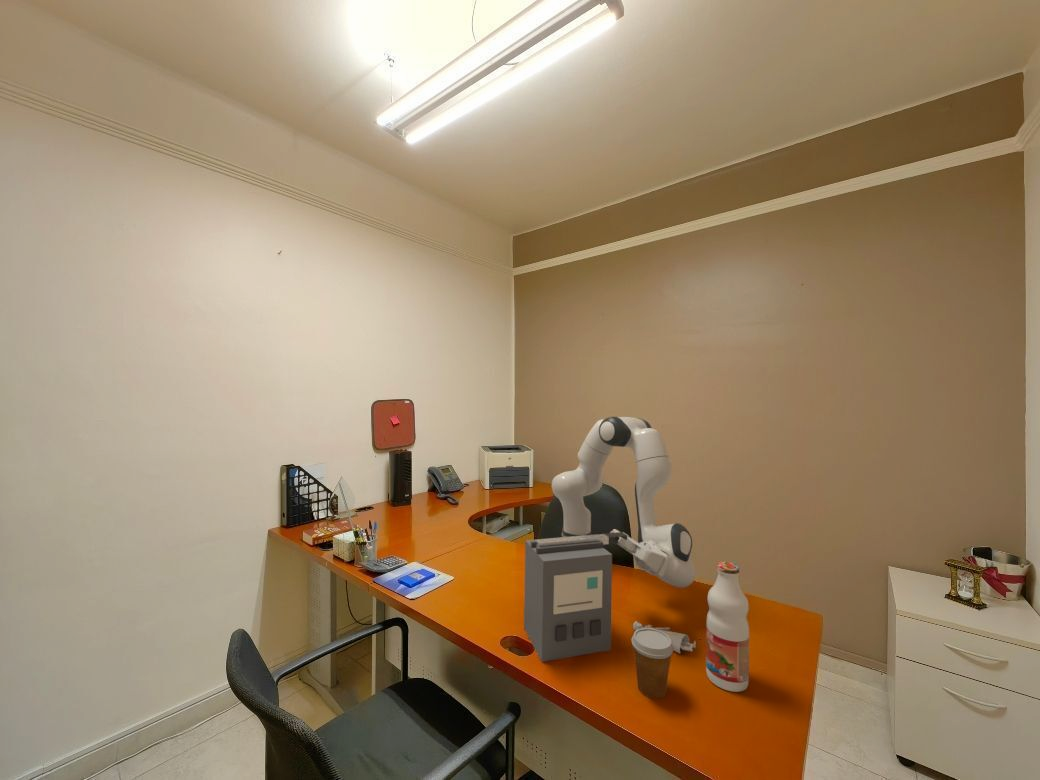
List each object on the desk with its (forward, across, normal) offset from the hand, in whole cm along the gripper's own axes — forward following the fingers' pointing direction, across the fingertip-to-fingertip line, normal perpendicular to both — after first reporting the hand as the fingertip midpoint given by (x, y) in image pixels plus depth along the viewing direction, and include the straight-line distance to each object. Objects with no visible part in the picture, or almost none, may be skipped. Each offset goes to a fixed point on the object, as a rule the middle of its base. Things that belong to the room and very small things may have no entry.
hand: (614, 536), depth 122 cm
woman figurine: (-24, +8, +19) cm, 31 cm away
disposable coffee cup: (-11, +24, +26) cm, 37 cm away
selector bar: (+8, 0, +6) cm, 10 cm away
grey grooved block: (-1, 0, +32) cm, 32 cm away
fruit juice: (-28, +26, +16) cm, 42 cm away
